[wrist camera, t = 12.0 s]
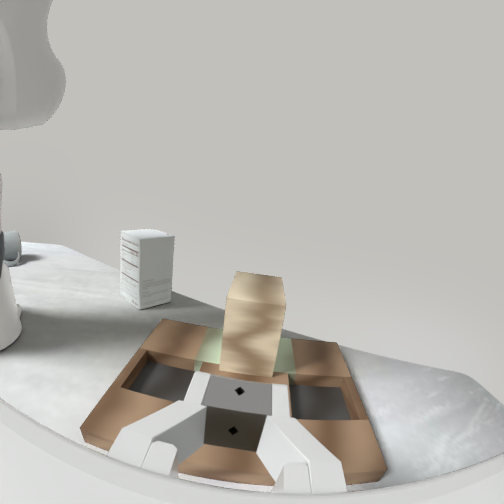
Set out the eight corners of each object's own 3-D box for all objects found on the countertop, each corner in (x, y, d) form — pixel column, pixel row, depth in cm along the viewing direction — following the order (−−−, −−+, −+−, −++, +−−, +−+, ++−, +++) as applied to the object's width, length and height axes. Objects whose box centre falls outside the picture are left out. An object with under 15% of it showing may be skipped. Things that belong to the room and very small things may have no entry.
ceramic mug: (-9, 259, 53) (-10, 230, 51) (15, 254, 60) (14, 227, 59) (0, 270, 49) (-3, 238, 47) (26, 264, 56) (25, 234, 54)
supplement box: (150, 289, 56) (153, 228, 54) (172, 302, 52) (176, 235, 50) (119, 296, 51) (120, 229, 48) (139, 310, 46) (140, 237, 44)
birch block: (219, 370, 31) (226, 297, 29) (229, 331, 41) (236, 271, 39) (272, 377, 31) (286, 305, 29) (271, 336, 40) (281, 277, 39)
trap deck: (84, 441, 18) (79, 427, 18) (162, 330, 41) (162, 318, 41) (378, 481, 17) (387, 469, 17) (333, 353, 41) (336, 342, 40)
